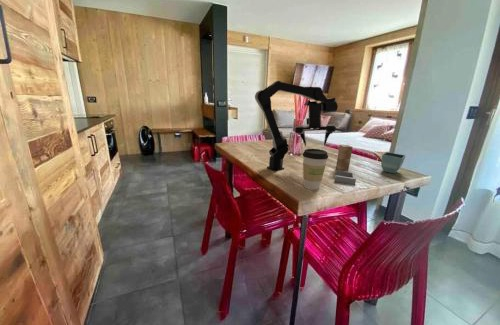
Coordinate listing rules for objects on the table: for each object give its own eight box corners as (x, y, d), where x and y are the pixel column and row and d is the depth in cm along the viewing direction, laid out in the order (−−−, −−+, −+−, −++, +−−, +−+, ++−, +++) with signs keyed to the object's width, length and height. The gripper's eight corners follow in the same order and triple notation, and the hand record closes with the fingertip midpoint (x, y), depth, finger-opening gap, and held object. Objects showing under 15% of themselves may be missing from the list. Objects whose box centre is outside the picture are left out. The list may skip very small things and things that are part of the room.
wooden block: (339, 171, 108) (343, 146, 105) (335, 169, 113) (339, 144, 109) (348, 172, 108) (352, 146, 105) (344, 169, 113) (348, 144, 109)
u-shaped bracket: (334, 181, 96) (335, 176, 95) (335, 174, 104) (336, 169, 103) (355, 184, 93) (356, 179, 92) (354, 177, 101) (355, 172, 100)
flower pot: (401, 171, 112) (405, 155, 109) (398, 175, 105) (402, 158, 103) (382, 167, 117) (386, 151, 115) (378, 171, 111) (381, 154, 109)
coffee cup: (320, 193, 83) (325, 155, 78) (295, 187, 88) (299, 151, 83) (326, 185, 91) (331, 150, 86) (303, 180, 96) (307, 147, 91)
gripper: (334, 111, 109) (333, 141, 114) (297, 113, 115) (297, 142, 120) (335, 113, 99) (335, 146, 104) (294, 116, 105) (295, 147, 110)
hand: (314, 145), depth 110 cm, fingers open, 9 cm apart
